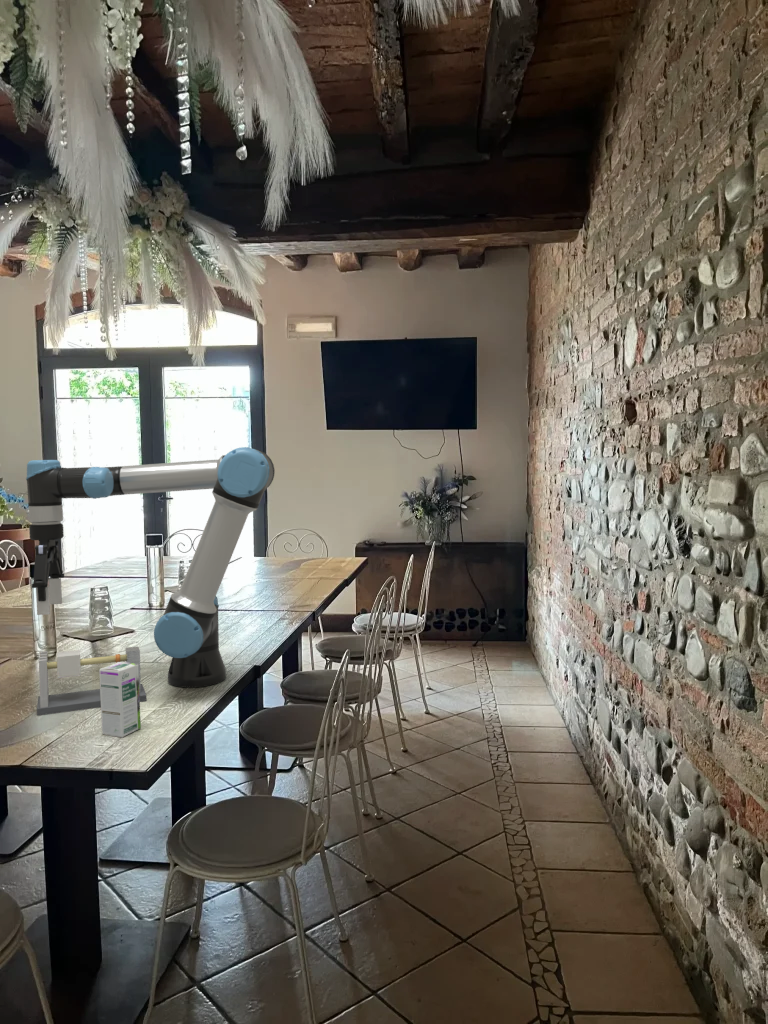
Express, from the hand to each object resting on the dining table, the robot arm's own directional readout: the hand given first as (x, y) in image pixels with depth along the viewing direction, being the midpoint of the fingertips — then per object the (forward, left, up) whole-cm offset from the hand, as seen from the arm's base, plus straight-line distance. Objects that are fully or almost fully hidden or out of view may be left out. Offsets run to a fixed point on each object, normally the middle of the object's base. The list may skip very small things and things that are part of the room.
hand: (50, 609), depth 175 cm
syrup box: (-31, +15, -22) cm, 41 cm away
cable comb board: (-12, 0, -22) cm, 25 cm away
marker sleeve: (-8, +4, -15) cm, 17 cm away
